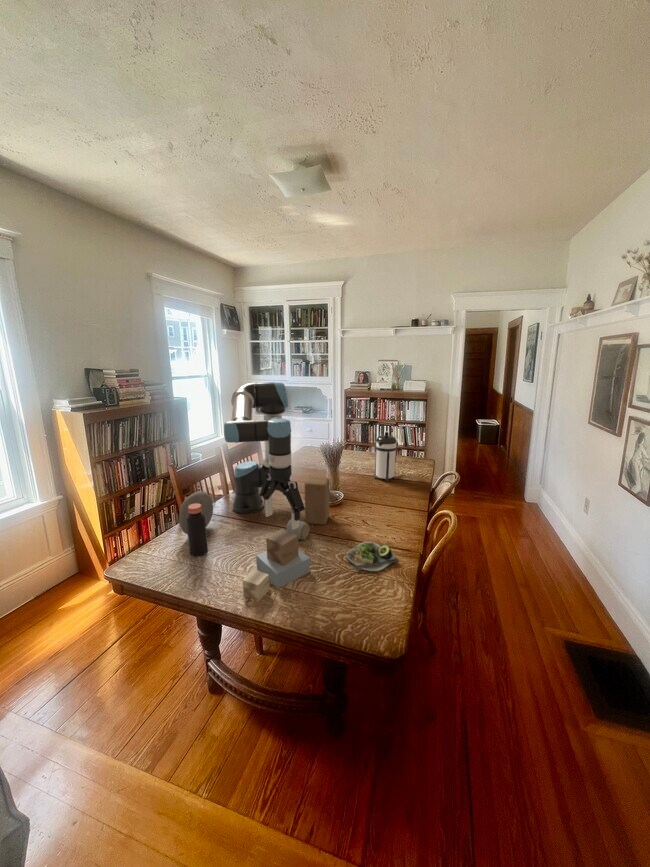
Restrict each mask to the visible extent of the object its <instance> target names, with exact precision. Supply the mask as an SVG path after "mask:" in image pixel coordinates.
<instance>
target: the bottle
mask: <svg viewBox="0 0 650 867" xmlns="http://www.w3.org/2000/svg"><path fill="white" fill-rule="evenodd" d="M201 512H202V507H201V504H198V503H195V504H191V505H189V506H188V513H189V516H188V517H187V519H186V522H187V531H188V535H187V542H188V547H189V548H188V549H189V555H190V556H192V557H196V558H197V557H202V556H204V555H206V554H207V552H208V550H209V548H208V536H207V535H208V534H207V527H206V523H205V516H204V515H203V514H202V513H201Z"/></svg>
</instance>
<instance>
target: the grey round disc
mask: <svg viewBox="0 0 650 867" xmlns="http://www.w3.org/2000/svg"><path fill="white" fill-rule="evenodd" d="M195 503H198V504H201V507H202V512H201V513H202V514H203V515H204V516H205V523H206V528H207V527H208V525H209V524H210V522H211V520H212V518H213V514H214V513H213V512H214V504H213V503H214V502H213V500H212V497H211V496H210V495H209V494H208V493H207V492H206V491H202V490H200V491H196V492H193V493H191V494H190V495H188V497H187V498H185V499H184V501H183V502H182V503H181V506H180V509H179V516H178V523H179V528H180V529H181V531H182V532H183V533H184V534H186V535H187V536H188V531H187V522H186V519H187V517H188V516H189V513H188V506H189V505H191V504H195Z"/></svg>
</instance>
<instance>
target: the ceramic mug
mask: <svg viewBox="0 0 650 867" xmlns="http://www.w3.org/2000/svg"><path fill="white" fill-rule="evenodd" d="M285 526H286V527H285V530H286V531H289V532H291V533H293V534H296V535H298V540H305V539H306V538H307V537H308V536H309V534H310V530H311V529H310V525H309V523H306V522H305V521H302V520H301V519H299V527H298V528H296V529H294V530H293V529H292V518H290V519H289V520H288V522H287V524H286V525H285Z"/></svg>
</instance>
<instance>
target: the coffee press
mask: <svg viewBox="0 0 650 867" xmlns="http://www.w3.org/2000/svg"><path fill="white" fill-rule="evenodd" d="M375 442H376V443H375V459H374V460H375V461H374V462H375V463H374V473H373V476H372V478H373V479H376V478H379V479H384V480H385V482H386V483H389V482H390V481H389V479H392V478H394V479H397V476H396V462H397V452H398V451H397V442H398V440H397V439H396V437H395V436H393V435H389V432H388V431H386V432H385V433H384V434H382V435H379V436H377V438H376V439H375Z"/></svg>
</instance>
